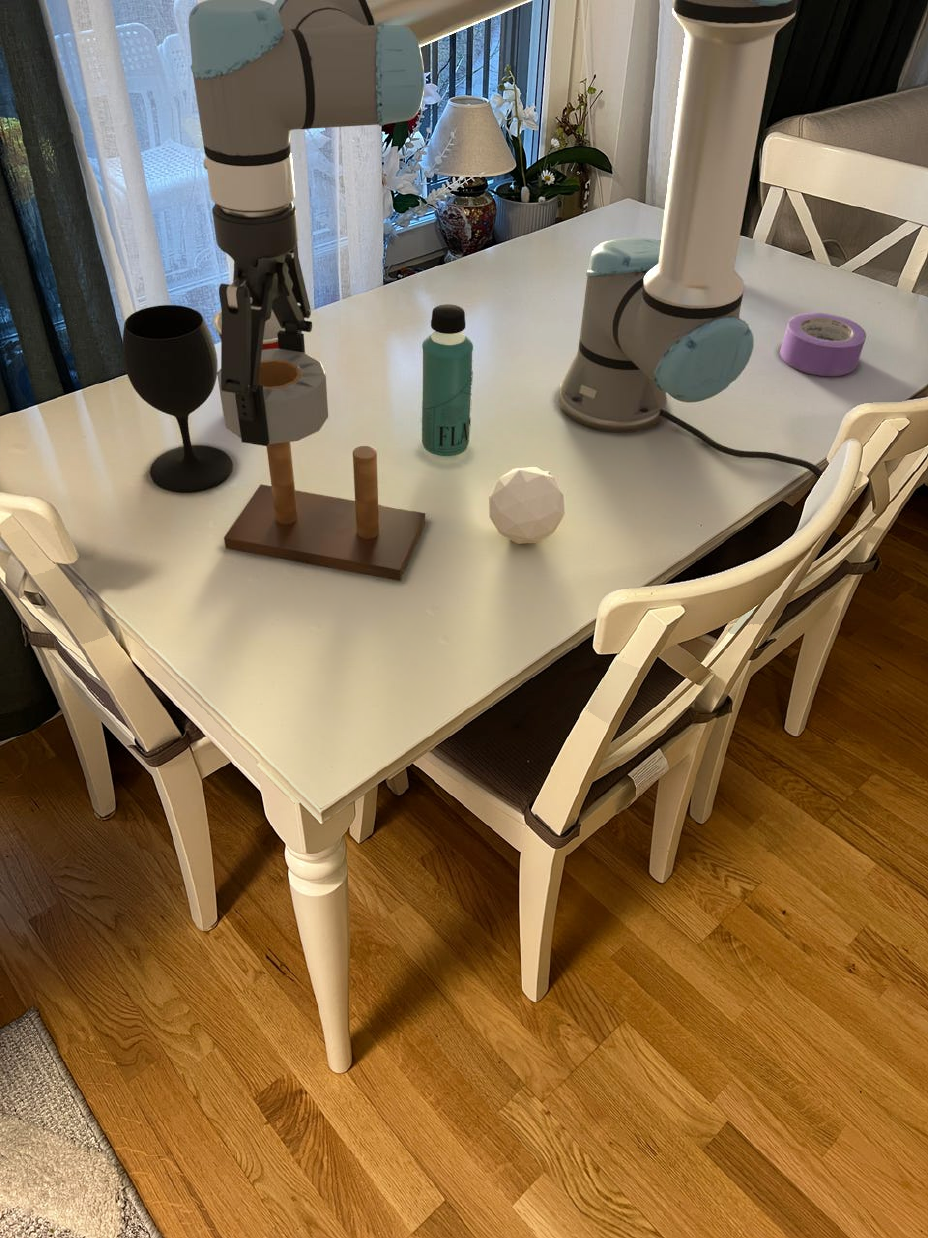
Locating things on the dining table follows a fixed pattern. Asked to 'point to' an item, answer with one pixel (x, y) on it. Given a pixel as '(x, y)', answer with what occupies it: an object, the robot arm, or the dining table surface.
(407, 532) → the peg rack
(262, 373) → the duct tape
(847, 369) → the tape roll
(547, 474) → the white faceted ball
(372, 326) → the dining table surface
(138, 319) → the wine glass
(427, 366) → the beverage bottle
